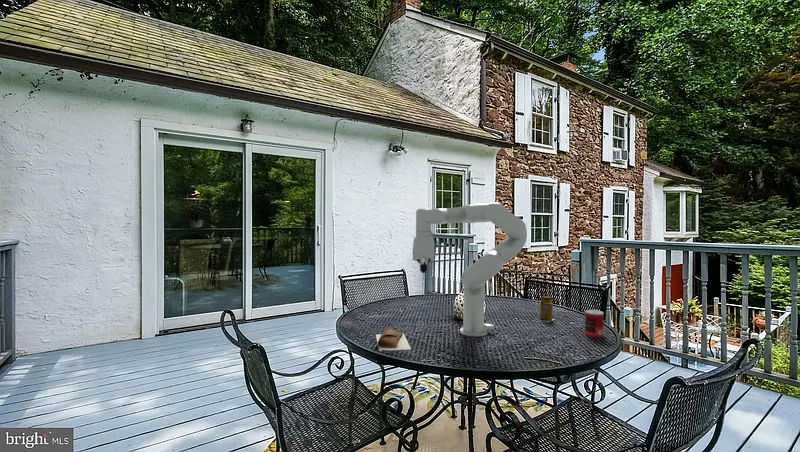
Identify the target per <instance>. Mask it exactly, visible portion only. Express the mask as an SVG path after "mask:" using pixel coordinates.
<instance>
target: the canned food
mask: <svg viewBox="0 0 800 452" xmlns="http://www.w3.org/2000/svg"><path fill="white" fill-rule="evenodd" d="M604 314H605V313H604V312H603V311H601V310H598V309H586V310H585V311H584V315H585V316H584V334H585V336H587V337H590V338H595V339H599V338H603V336H604V320H605V319H604V318H605V315H604Z"/></svg>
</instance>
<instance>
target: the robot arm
mask: <svg viewBox="0 0 800 452" xmlns="http://www.w3.org/2000/svg"><path fill="white" fill-rule="evenodd" d="M490 222H491V224H493V225H494V226H496V227H497V228H498V229H500V230H501V231H502V232H503V233H505V234H506V235H507V236H506V237H505V239H503V240H502V241H501V242H500V243H498V245H496V246H495V247H493V248H492V249H490V250H489V251H488V252H486V253H485V254H483V255H482V256H481V257H480V258H479V259H478V260H476V261H475V262H474V263H472V264H471V265H468V266H467V267H466V268H465V270H463V271H462V274H461V277H460V278H461V283H462V285H463V306H462V307H463V316H462V317H463V318H462V320H463V322H462V324H463V325H462V326H463V327H461V328H460V329H459V333H460V334H461V335H464V336H467V337H474V338H475V337H477V338H478V337H484V336H487V335H488V330H494V329H495V325H494V324H490V323H485V296H486V295H485V292H486V291H485V287H486V283H487V282H488V281H489V280H491V279H492V278H494V276H496V275H497V274H499V272H500V271H501V270H502V268H503V267H504V265H506V264H507V263H508V262H509V261H511V260H512V259H513V258H514V257H515V256H516V255H517V254H519V253H520V252H521V251H522V249H523V248H524V247H525V244H526V242H527V238H528V231H527V226H526V223H525V221H523V219H521V218H519V217H518V216H516V215H515V214H513V212H511V211H510V210H508V209H507V208H506V207H505V206H504V205H503V204H502V203H500V202H498V201H497V202H495V201H494V202H489V203H488V202H487V203H486V202H485V203H475V204H474V203H473V204H466V205H463V206H457V207H448V208H447V207H446V208H445V207H444V208H439V207H438V208H418V209H417V210H416V212H415V236H414V237H413V241H412V242H413V243H412V261H413V262H414V261H415V262H417V263H418V264H419V271H420V272H421V273H422V274H426V273H427V271H428V264H429V263H430V262H432V261H435V260H436V259H435V241H434V237H433V236H435V232H434V231H433V229H432V228H433V227H432V225H433V224H434V225H447V224H458V223H461V224H462V223H463V224H464V223H465V224H474V223H477V224H478V223H490ZM423 259H424V261H423Z"/></svg>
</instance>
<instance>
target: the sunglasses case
mask: <svg viewBox="0 0 800 452" xmlns="http://www.w3.org/2000/svg"><path fill="white" fill-rule="evenodd" d="M381 334H382V335H381V337H380V339H379V341H378V343H377V346H378V345H379V347H383V348H396V347H397V345H398V342H399V340H400V338H401V337H402V335H403V334H404V333H401V331H400V332H399V331H397V330H394V329H392V327H390V326H387V327H385V329H384V331H383V332H382V333H381ZM379 347H378V348H379Z"/></svg>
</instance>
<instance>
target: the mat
mask: <svg viewBox="0 0 800 452" xmlns="http://www.w3.org/2000/svg"><path fill="white" fill-rule="evenodd" d="M382 334H383V333H381V334H375V336H376V337H375V338H376V342H377V347H378V350H379V352H383V351H382V350H387V351H404V350H405V351H406V350H407V351H409V350H412V348H411V346H410V343H409V342H408V340H407V338H406V335H405V334H404V333H402V334H403V335H402V337H401V338H400V340H399V342H398V345H397V347H396V348H383V347H379V345H378V341H379V339H380V337H381V335H382Z"/></svg>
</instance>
